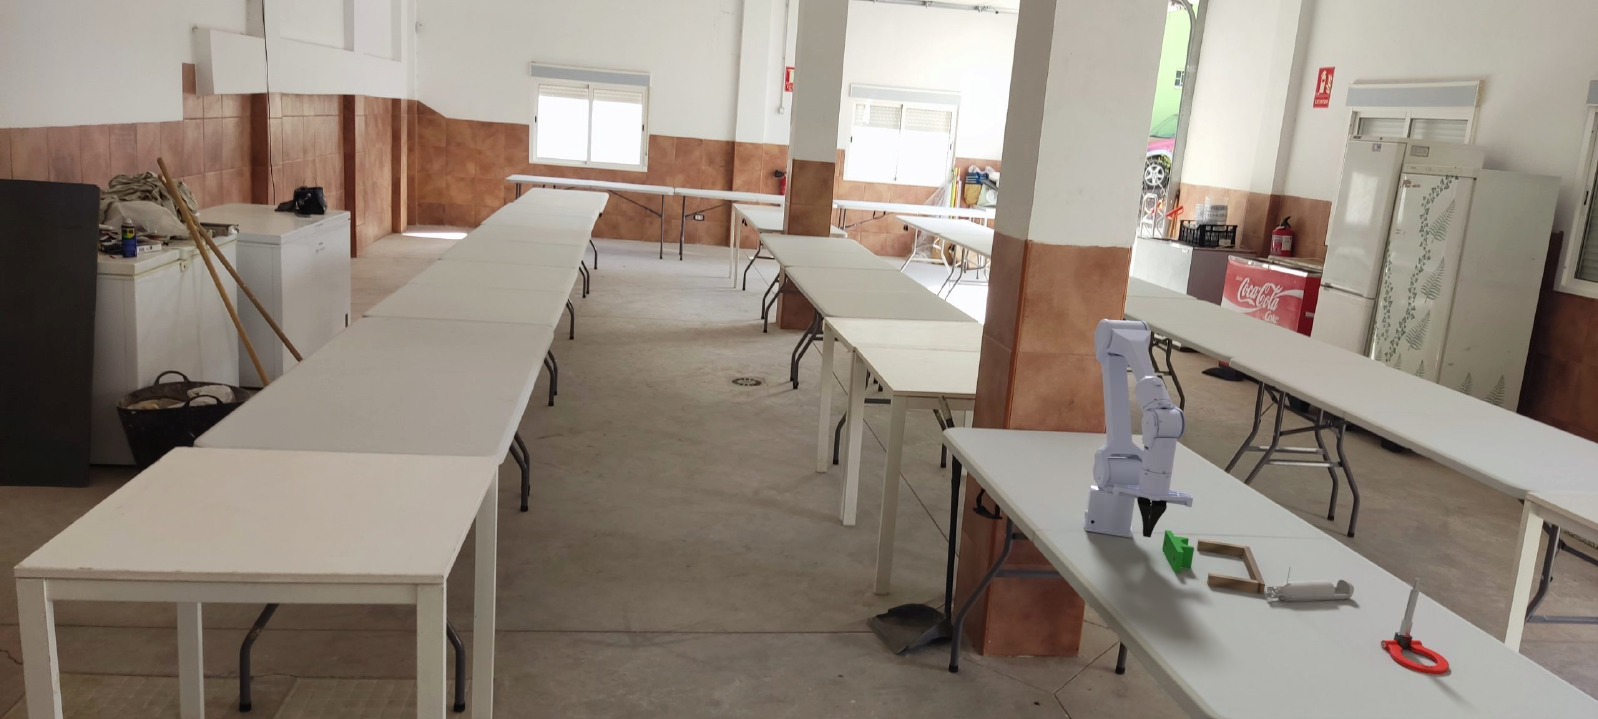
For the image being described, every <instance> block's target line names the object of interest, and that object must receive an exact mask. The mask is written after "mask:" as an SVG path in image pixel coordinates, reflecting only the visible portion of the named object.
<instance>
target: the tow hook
mask: <svg viewBox="0 0 1598 719" xmlns="http://www.w3.org/2000/svg"><path fill="white" fill-rule="evenodd" d="M1420 583H1421V578H1419V577H1415V578H1414V583H1413V585H1412V586H1413V587H1412V588H1411V589H1410V593H1409V596H1408V600H1407V605H1406V609H1405V612H1404V617H1403V618H1402V619H1401V623H1400V627H1399V631H1398V632H1397V631H1396V632H1395V633H1394V637H1393V640H1392V639H1390V640H1389V639H1386V640H1383V639H1382V640H1381V642H1380V646H1381V648H1382V649H1384V650H1388V651H1389V654H1390V657H1391V658H1392V659H1393V660H1394V661H1395V662H1397V663H1398V664H1399V665H1402V666H1403V667H1405V668H1407V669H1409V670H1412V671H1416V672H1418V673H1423V674H1427V675H1442V674H1446V673H1447V672H1448V671H1449V666H1450V664H1449V661H1448V660H1447V659H1446V658H1445V657H1444V656H1442V655H1441V654H1440V653H1438V652H1436V651H1435V650H1432V649H1430V648H1429V647H1428V648H1427V647H1425V646H1423V643H1422V641H1421V640H1418V639H1414V640H1413V636H1412V635H1411V632H1412V627H1413V618H1414V613H1415V610H1416V605H1417V601H1418V597H1419V593H1420V590H1419V588H1420ZM1404 650H1411V651H1413V653H1417V654H1420V655H1422V656H1423V655H1424V656H1425V657H1427V658H1429V659H1431V660H1433V661H1434V662H1435V665H1425V664H1421V663H1418V662H1415V661H1413V660H1410V659H1408V658H1407V657H1405V656H1404V655H1403V654H1402V652H1403V651H1404Z"/></svg>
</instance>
